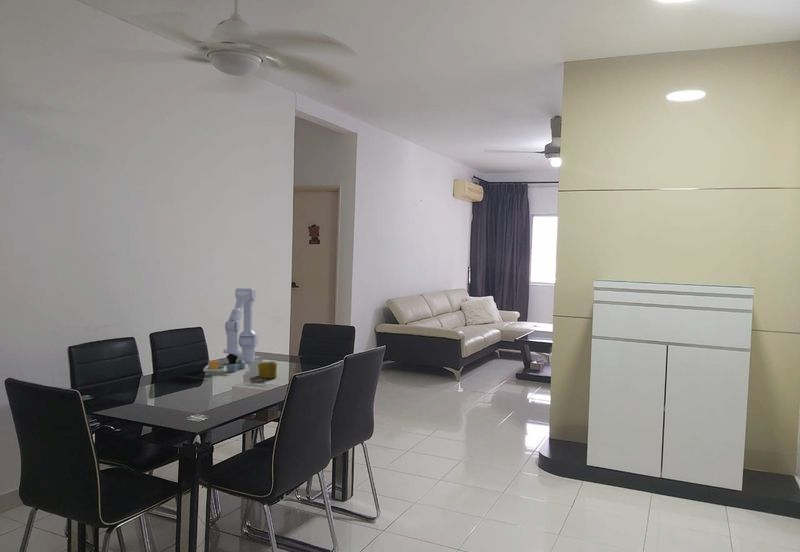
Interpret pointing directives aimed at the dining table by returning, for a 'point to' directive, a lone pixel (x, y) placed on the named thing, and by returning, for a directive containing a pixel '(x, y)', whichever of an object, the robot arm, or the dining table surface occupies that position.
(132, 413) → the dining table surface
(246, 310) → the robot arm
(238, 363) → the crank
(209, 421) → the dining table surface
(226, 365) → the tray
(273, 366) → the mug
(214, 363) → the block
